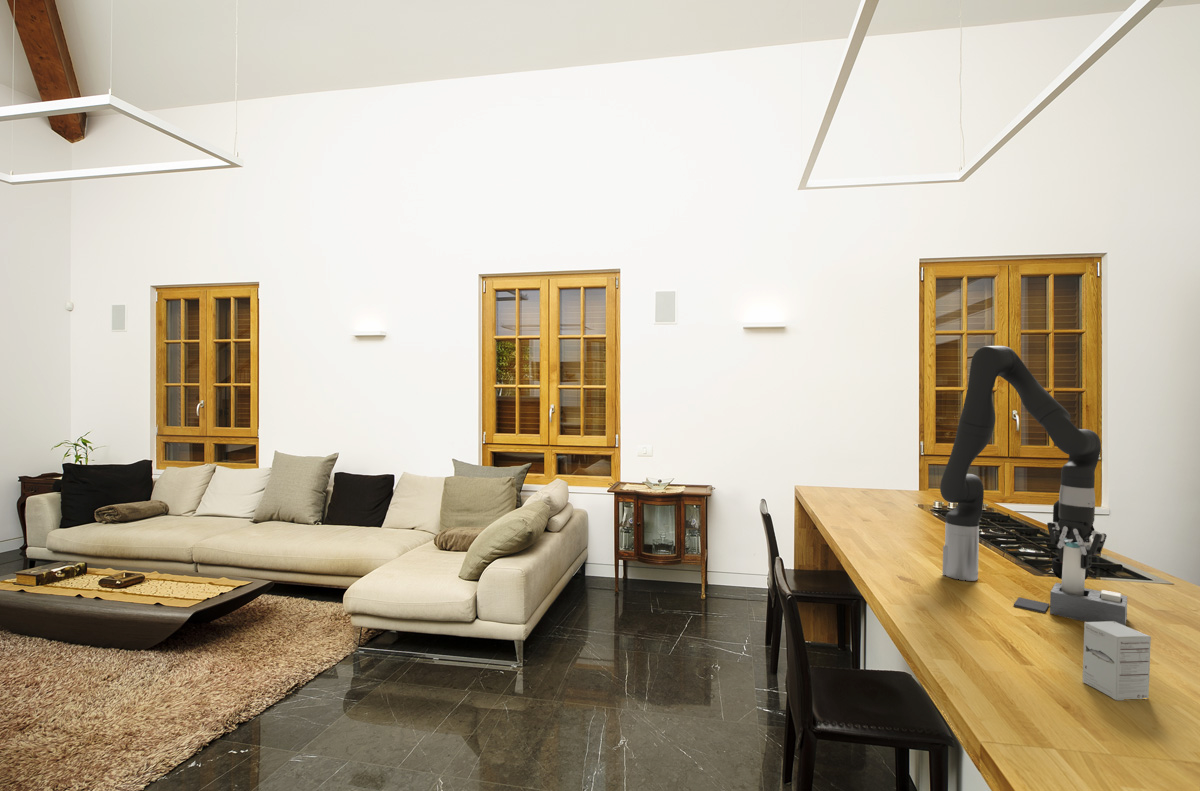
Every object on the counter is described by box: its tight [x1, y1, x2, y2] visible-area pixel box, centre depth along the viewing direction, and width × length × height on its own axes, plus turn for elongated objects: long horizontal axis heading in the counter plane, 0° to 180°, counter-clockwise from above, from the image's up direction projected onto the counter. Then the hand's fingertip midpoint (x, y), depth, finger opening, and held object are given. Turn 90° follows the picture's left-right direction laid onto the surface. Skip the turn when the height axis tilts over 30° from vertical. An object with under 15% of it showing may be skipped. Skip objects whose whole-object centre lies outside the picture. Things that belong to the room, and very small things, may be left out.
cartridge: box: [1061, 542, 1086, 596], centre depth 157 cm, size 5×5×14 cm
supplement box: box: [1082, 621, 1152, 701], centre depth 116 cm, size 7×7×13 cm
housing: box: [1049, 582, 1128, 626], centre depth 155 cm, size 15×11×6 cm
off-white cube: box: [1100, 589, 1122, 602], centre depth 152 cm, size 4×4×5 cm
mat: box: [1013, 597, 1050, 614], centre depth 162 cm, size 7×8×1 cm
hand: (1074, 565), depth 157 cm, fingers closed on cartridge, 4 cm apart
